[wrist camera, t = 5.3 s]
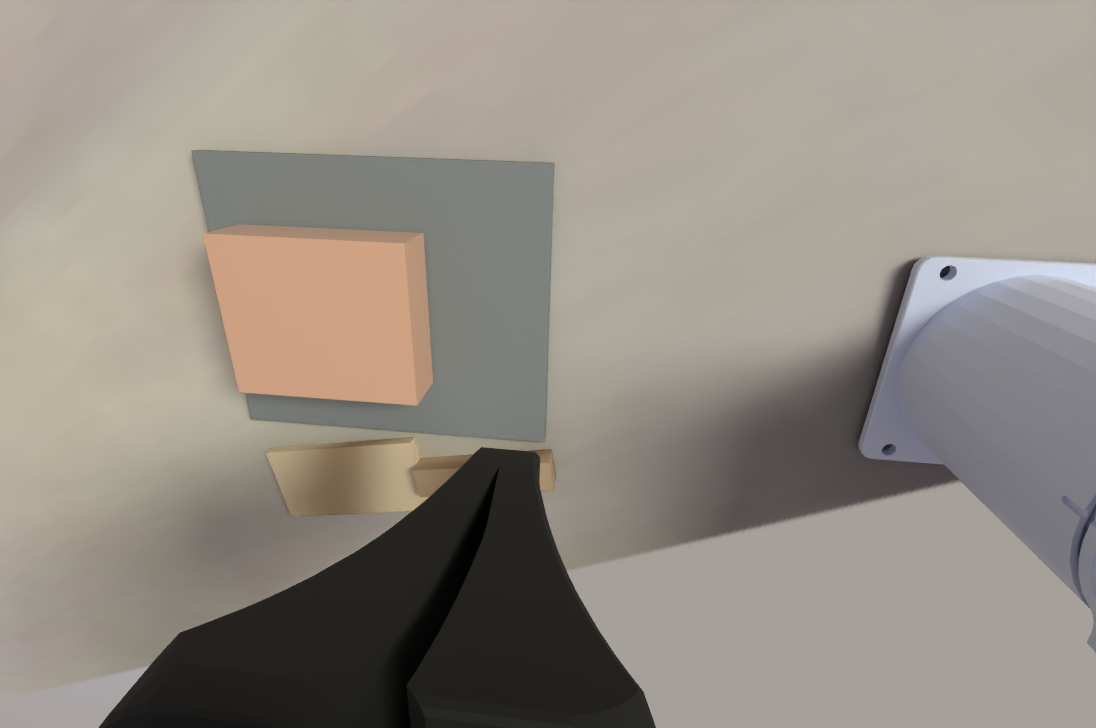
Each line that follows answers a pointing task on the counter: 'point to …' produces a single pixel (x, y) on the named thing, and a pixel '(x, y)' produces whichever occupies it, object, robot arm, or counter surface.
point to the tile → (324, 311)
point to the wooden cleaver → (368, 476)
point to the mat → (451, 271)
